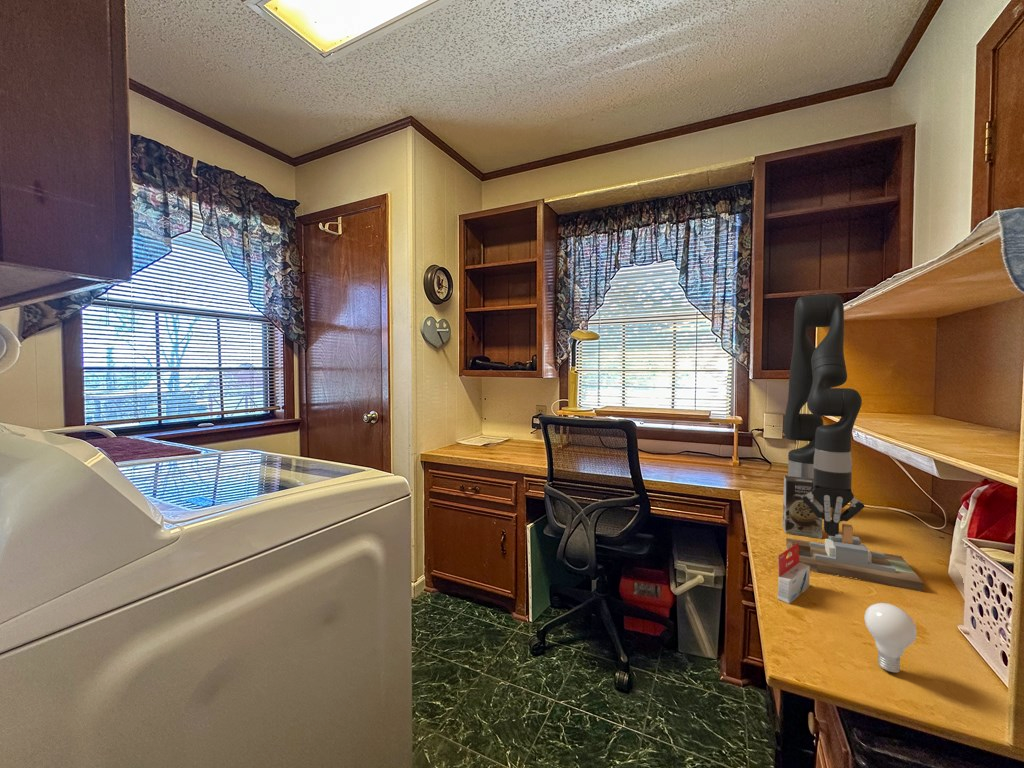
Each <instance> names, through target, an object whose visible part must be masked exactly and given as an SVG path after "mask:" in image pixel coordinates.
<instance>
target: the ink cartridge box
mask: <svg viewBox="0 0 1024 768" xmlns="http://www.w3.org/2000/svg"><path fill="white" fill-rule="evenodd" d="M789 552H791V553H792V555H791V556H790V557H789V554H788V553H789ZM787 556H788V557H787ZM777 564H778V566H777V567H778V582H777V584H778V585H777V599H778V600H779V601H780V602H783V603H785V604H791V603H792V602H793V601H794V600H796V599H797V598H798V597H799V596H800V595H801V594H802V593H804V592H805V591H806V590H808V589H809V588H810V578H811V577H810V576H811V575H810V573H811V571H810V566H809V565H806V564H803V563H800V562H799V544H798V543H796V544H795V545H793V546H792V547H790V548H789V549H787V548H786V549H785V550H784V551H783V552H782V553H780V554H778V555H777Z"/></svg>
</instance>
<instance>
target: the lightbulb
mask: <svg viewBox="0 0 1024 768" xmlns="http://www.w3.org/2000/svg"><path fill="white" fill-rule="evenodd" d="M863 618H864V624H865V626H866V629H867V630H868V631H869V633H870V635H872V638H873V639H874V642H875V647H876V649H877V664H878V665H879V667H881V668H882V669H883V670H885V671H886V672H889V673H899V672H901V671H900V669H901V657H902V656H903V654H904V652H905V649H907V648H908V647H909V646H912V644H913V643H914V642H915V641H916V639H917V636H918V631H917V626H916V624H915V621H914V620H913V619H912V617H911V616H910V615H909V613H907V612H906V611H904V610H903V609H901V607H898V606H897V605H894V604H891V603H887V602H877V603H873V604H870V605H869V606H867V608H866V610H865V612H864V617H863Z"/></svg>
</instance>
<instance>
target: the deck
mask: <svg viewBox="0 0 1024 768" xmlns="http://www.w3.org/2000/svg"><path fill="white" fill-rule="evenodd" d="M785 542H786V543H785V546H786V550H787V549H789V548H790V547H792V546H793V545H795V544H796V543H798V544H799V562H800V563H803V564H806V565H809V566H810V572H815V573H820V574H825V573H826V575H830V574H833V575H832V576H835V575H839V576H838V577H841V576H845V577H844V578H846V577H852V578H857V579H861V580H860V581H862V580H865V581H864V582H868V581H869V582H868V583H873V584H880V585H885V586H891V587H896V588H900V589H907V590H912V591H917V592H923V593H924V591H925V590H924V589H925V587H924V586H925V585H924V584H925V583H924V582H923V580H922V579H921V578H920V576H918V574H917V573H916V572H915V571H914V569H913V568H912V567H911V566H910V565H909V563H908V562H907V561H906V560H905V559H904V557H903V556H902V555H898V554H892V553H891V554H889V553H885V552H883V553H884V554H885V559H882V558H876V557H871V563H873V564H879V565H885V566H891V567H894V568H895V569H896V572H895V573H892V572H886V571H880V570H874V569H869V568H863V567H857V566H851V565H845V564H840V563H834V562H828V561H822V560H816V559H815V554H819V555H825V556H828V555H827V553H826V551H825V549H820V548H814V547H810V542H811V541H809V540H808V541H807V540H803V539H802V540H801V539H796V538H795V539H794V538H788V537H786V539H785ZM877 552H878V551H877ZM878 553H880V552H878ZM791 555H792V553H791V552H789V553H788V557H790V556H791ZM852 578H851V579H852ZM857 579H856V580H857Z"/></svg>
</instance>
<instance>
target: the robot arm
mask: <svg viewBox="0 0 1024 768" xmlns="http://www.w3.org/2000/svg"><path fill="white" fill-rule="evenodd" d="M793 311H794V315H793V316H794V317H793V342H792V343H793V344H792V352H791V353H792V354H791V362H790V368H789V376H788V394H787V402H786V408H785V414H784V417H783V418H784V419H783V428H782V431H783V435H784V438H785V439H788V440H789V441H799V442H801V441H802V442H808V443H807V444H805V445H804V446H802V447H799V448H795V449H791V450H789V452H788V455H787V459H788V460H787V466H788V467H787V472H788V473H787V476H793V477H803V478H813V487H812V488H811V492H810V493H808V494H806V495H805V494H803V495H801V497H802V499H803V501H804V502H805V503H806V504H807V506H808V507H809V508H810V509H811V510H812V511H813V513H814V514H815V515H816V516H817V517H818V518H822V520H823V531H824V532H825V533H826V535H827V536H828V537H829V536H834V537H835V536H836V535H838V534H840V523H841V522H849V521H850V520H851V519H852V518H854V517H855V516H856V515H857V514H858V513H860V512H861V511H862V510H863V509H864V508H865V504H864V503H863V501H861V500H858V499H857V498H856V497H855V495H854V493H853V491H852V480H853V479H852V475H853V473H852V472H853V463H852V462H853V459H852V435H853V434H852V432H853V429H854V425H855V422H856V420H857V418H858V416H859V413H860V411H861V408H862V404H863V402H862V401H863V400H862V396H861V394H860V393H859V392H858V390H856V389H854V388H851V387H850V388H848V387H847V388H846V387H845V388H844V387H843V388H840V386H842V385H844V384H845V383H846V382H847V380H848V372H847V367H846V366H847V365H846V360H845V359H846V358H845V353H844V344H845V342H844V341H845V338H844V336H845V309H844V301H843V298H842V296H840V295H839V294H837V293H836V294H835V293H831V294H830V293H829V294H817V295H816V294H815V295H814V294H813V295H802V296H800V297H798V298H797V300H796V302H795V306H794V310H793ZM828 327H829V329H828V332H827V333H826V335H825V336H824V337H823V339H822V340H821V341H820V343H818V345H817V346H816V347H815V345H814V344H813V342H812V341H811V339H810V337H809V335H808V332H807V331H808V328H809V329H810V328H828ZM838 387H839V388H838ZM806 404H807V405H806ZM805 405H806V406H807V409H808V411H809V413H800V412H801V410H802V409H803V407H804V406H805ZM823 417H840V418H839V420H838V421H836V422H835V423H831V424H825V423H824V418H823ZM813 496H814V497H815V498H816V500H817V501H818V502H819V503H820V504H821V505H822V508H823V512H821V511H819V509H818V508H817V507H816V506H815V505H814V504H813V503H812V502H813V501H814V500H813ZM848 504H849V505H850V506H849V507H848V508H847V509H845V510H843V509H844V508H845V507H846V506H847V505H848ZM842 510H843V512H842Z"/></svg>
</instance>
